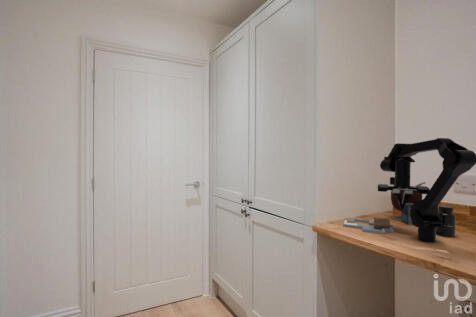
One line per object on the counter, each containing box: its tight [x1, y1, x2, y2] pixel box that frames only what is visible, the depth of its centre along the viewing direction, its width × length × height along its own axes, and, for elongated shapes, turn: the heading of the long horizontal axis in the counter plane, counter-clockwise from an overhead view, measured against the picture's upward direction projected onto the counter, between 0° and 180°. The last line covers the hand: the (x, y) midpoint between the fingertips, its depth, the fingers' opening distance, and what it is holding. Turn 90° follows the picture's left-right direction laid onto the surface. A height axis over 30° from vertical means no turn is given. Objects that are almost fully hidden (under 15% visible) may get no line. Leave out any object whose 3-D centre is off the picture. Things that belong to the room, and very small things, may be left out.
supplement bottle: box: [436, 205, 457, 238], centre depth 115 cm, size 7×7×12 cm
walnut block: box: [373, 217, 391, 231], centre depth 120 cm, size 5×6×4 cm
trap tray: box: [342, 218, 395, 235], centre depth 122 cm, size 20×19×2 cm
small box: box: [400, 203, 429, 226], centre depth 129 cm, size 11×6×10 cm, turn 84°
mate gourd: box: [390, 181, 426, 222], centre depth 141 cm, size 16×14×20 cm
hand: (401, 208), depth 116 cm, fingers closed
